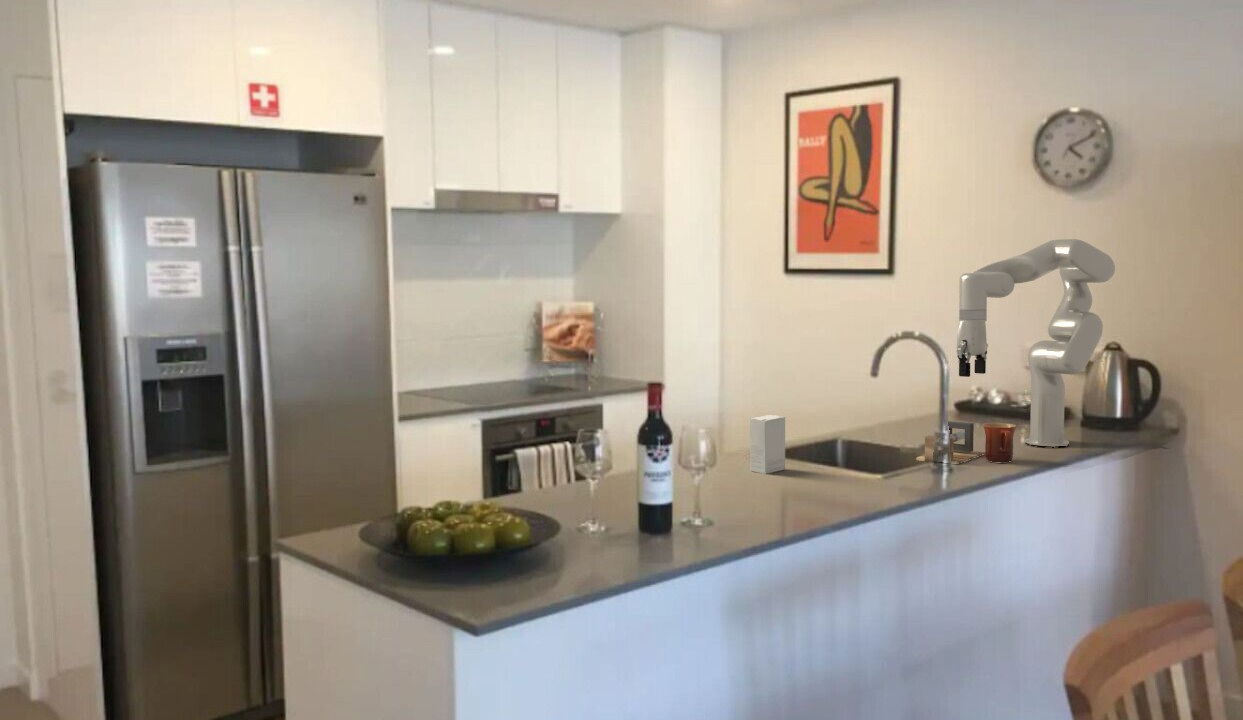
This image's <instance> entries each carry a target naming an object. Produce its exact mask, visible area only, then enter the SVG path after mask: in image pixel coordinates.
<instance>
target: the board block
mask: <svg viewBox="0 0 1243 720" xmlns="http://www.w3.org/2000/svg"><path fill="white" fill-rule="evenodd" d="M935 436H936V435H926V436H925V437H924V454H923V455H920V456H917V457H916V459H915V460H916V461H919V462H928V463H933V462H932V459H933V452H934V446H935ZM953 443H954V442H953V438H952V437H950V458H951V462H953V463H956V464H958V463H961V462H964V461H966V460H969V459H972V458H974V457H977V456H980V455H982V454H985V451H981V450H980V451H979V450H973V451H971V452H965V451H955V450H953ZM972 460H973V459H972ZM964 463H965V462H964Z"/></svg>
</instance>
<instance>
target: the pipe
mask: <svg viewBox="0 0 1243 720" xmlns="http://www.w3.org/2000/svg"><path fill="white" fill-rule="evenodd" d="M950 437H952V438H953V443H955V442H959V441H962V440H965V429H962V430H960V431H956V432H954V433H953V432H952V434H950Z"/></svg>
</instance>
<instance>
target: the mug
mask: <svg viewBox="0 0 1243 720" xmlns="http://www.w3.org/2000/svg"><path fill="white" fill-rule="evenodd" d="M982 427H983V429H984V435H985V444H984V452H985V455H984V456H985V460H986V461H987V460H988V461H987V462H989V461H992V462H1009V461H1011V462H1012V461H1013V458H1014V434H1015V432H1016V429H1017V425H1016V424H1013V423H1005V422H1004V423H1003V422H988V423H987V422H986V423H984V424H983V425H982ZM992 462H991V463H992ZM1009 463H1010V462H1009Z"/></svg>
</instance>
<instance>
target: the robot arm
mask: <svg viewBox="0 0 1243 720" xmlns="http://www.w3.org/2000/svg"><path fill="white" fill-rule="evenodd" d="M1056 270H1059V274H1060V277H1061V281H1062V285H1063V296H1062V297H1061V298H1062V299H1061V300H1060V303H1059V305H1058V307H1057V308H1056V310H1055V313H1054V314H1053V316H1052V317H1051V319H1050V322H1049V324H1048V327H1047V333H1048V335H1049V337H1050V338H1051V339H1052V340H1040V341H1038V342H1034V343H1033V344H1032V345H1031V346H1030V348H1029V351H1028V354H1027V361H1028V366H1029V371H1030V421H1029V422H1030V426H1029V428H1030V429H1029V431H1030V432H1029V435H1030V436H1029V437H1028V438H1025V439H1024V443H1025V442H1027V443H1030V444H1034V445H1047V446H1048V445H1050V446H1052V445H1053V446H1056V445H1065V444H1069V445H1070V441H1069V440H1066V439H1064V436H1065V402H1066V399H1065V398H1066V397H1065V394H1066V387H1065V382H1064V379H1063V377H1062V375H1070V376H1072V375H1077V374H1080V373H1081V372H1083V371H1084V370H1085V368H1086V367H1087V365H1088V364H1089V361H1090V360H1091V357H1092V356H1093V354H1094V353H1095V350H1096V348H1097V346H1098V344H1099V342H1100V340H1101V338H1102V335H1103V329H1104V327H1103V321H1102V319H1101V317H1100V316H1099V315H1098V314H1097V313H1095V312H1091V311H1090V310H1091V308H1092V305H1093V296H1092V293H1091V291H1090V287H1089V285H1088V283H1093V284H1095V283H1097V284H1098V283H1099V284H1102V283H1105V282H1108V281H1109V280H1110V279H1112V278H1113V276H1114V275H1115V271H1116V266H1115V262H1114V260H1113V259H1112V257H1111V256H1110V255H1109V254H1107V253H1106V252H1104V251H1102V250H1101V249H1099V248H1097V247H1095V246H1093V245H1092V244H1090V243H1088V242H1086V241H1084V240H1081V239H1077V238H1071V239H1065V238H1063V239H1053V240H1049V241H1047V242H1045V243H1043V244H1041V245H1039V246H1036V247H1034V248H1032V249H1030V250H1028V251H1026V252H1024V253H1022V254H1020V255H1015V256H1012V257H1008V258H1007V259H1002V260H1000V261H996V262H994V263H993V262H992V263H991V264H987V265H986V266H983V267H981V268H979V269H977V270H975V271H973V272H968V273H967V272H966V273H962V274H961V275H960V277H959V287H958V288H959V291H958V292H959V297H958V298H959V302H958V303H959V304H958V305H959V306H958V308H959V309H958V310H959V313H958V315H959V316H958V317H959V318H958V321H959V322H958V326H957V327H958V328H957V338H956V355H957V358H958V360H957V361H958V376H959V377H961V378H962V377H963V378H964V377H965V378H970V377H971V363H970V360H971V357H973V356H974V358H975V359H974V373H975V374H979V375H980V374H981V375H982V374H983V375H984V374H986V373H987V372H986V370H987V354H988V348H989V344H988V343H987V341H988V340H987V325H986V322H987V317H988V316H987V314H988V313H987V312H988V308H987V307H988V306H987V305H988V299H987V298H994V299H995V298H996V299H999V298H1006V297H1008V296H1009V295H1011V294H1012V292H1013V291H1014V289H1015V284H1023V283H1024V284H1025V283H1029V282H1034V281H1036V280H1037V279H1040V278H1041V277H1044V276H1045V275H1047V274H1050V273H1052V272H1053V271H1054V272H1055V271H1056Z"/></svg>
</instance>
